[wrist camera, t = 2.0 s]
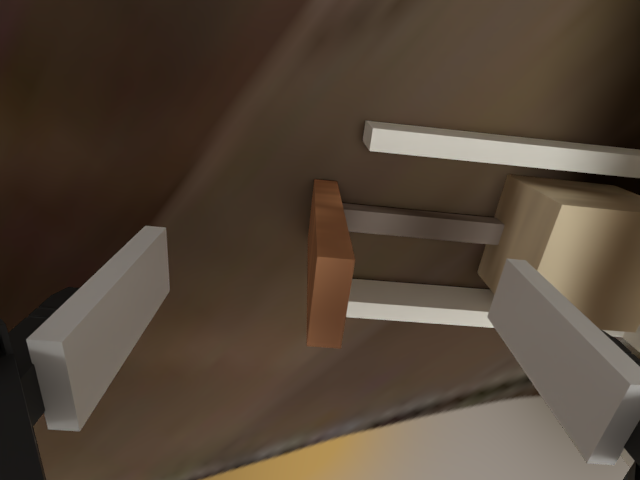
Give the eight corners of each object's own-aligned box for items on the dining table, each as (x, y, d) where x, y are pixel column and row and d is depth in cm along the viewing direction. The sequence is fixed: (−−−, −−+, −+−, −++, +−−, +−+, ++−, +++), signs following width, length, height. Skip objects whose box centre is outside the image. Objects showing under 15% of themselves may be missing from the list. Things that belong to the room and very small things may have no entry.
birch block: (305, 257, 23) (303, 373, 14) (316, 154, 20) (322, 219, 12) (572, 280, 24) (718, 401, 15) (613, 185, 21) (813, 265, 13)
